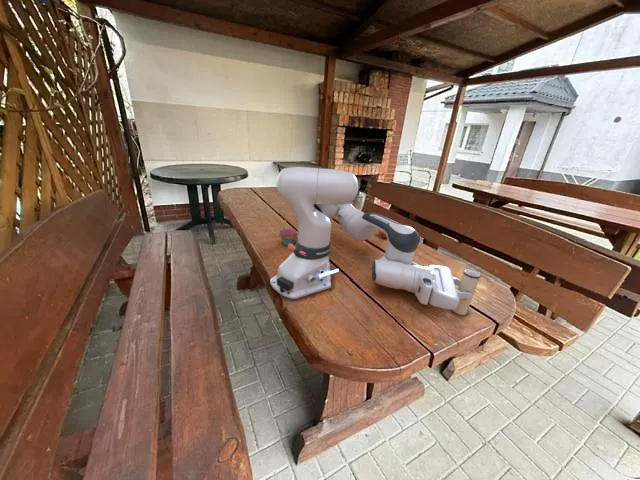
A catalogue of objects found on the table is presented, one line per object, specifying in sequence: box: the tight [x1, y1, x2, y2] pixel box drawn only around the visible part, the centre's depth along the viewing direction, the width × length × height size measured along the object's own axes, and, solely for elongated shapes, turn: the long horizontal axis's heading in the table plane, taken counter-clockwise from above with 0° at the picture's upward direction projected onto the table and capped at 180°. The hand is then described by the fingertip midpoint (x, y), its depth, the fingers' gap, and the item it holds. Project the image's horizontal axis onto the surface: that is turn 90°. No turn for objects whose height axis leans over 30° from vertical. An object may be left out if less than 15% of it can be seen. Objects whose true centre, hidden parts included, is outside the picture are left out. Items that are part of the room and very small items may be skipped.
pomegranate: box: [376, 230, 387, 240], centre depth 134 cm, size 7×7×10 cm
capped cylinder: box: [452, 268, 482, 316], centre depth 81 cm, size 5×5×14 cm
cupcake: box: [278, 220, 298, 246], centre depth 119 cm, size 9×8×12 cm
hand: (469, 290), depth 80 cm, fingers closed on capped cylinder, 4 cm apart
